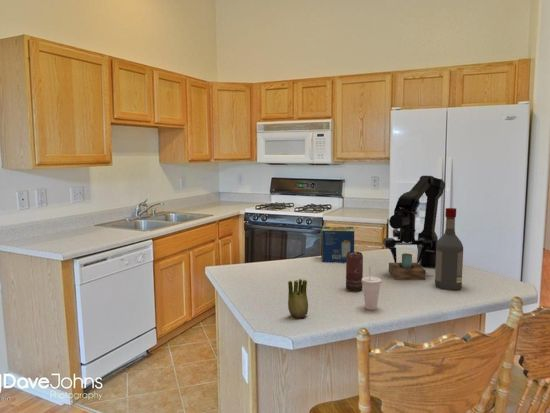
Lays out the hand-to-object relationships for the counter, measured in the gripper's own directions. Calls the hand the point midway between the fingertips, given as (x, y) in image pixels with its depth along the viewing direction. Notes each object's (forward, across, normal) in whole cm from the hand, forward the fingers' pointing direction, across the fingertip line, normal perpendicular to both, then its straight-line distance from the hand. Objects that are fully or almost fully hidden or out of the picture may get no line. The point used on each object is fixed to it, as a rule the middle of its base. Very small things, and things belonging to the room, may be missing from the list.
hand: (406, 262), depth 170 cm
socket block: (+6, 0, 0) cm, 6 cm away
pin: (+4, 0, 0) cm, 5 cm away
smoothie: (+6, +21, +37) cm, 43 cm away
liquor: (+6, -12, +14) cm, 19 cm away
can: (+6, +24, +18) cm, 31 cm away
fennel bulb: (+6, +45, +45) cm, 64 cm away
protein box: (+6, +26, -26) cm, 37 cm away
